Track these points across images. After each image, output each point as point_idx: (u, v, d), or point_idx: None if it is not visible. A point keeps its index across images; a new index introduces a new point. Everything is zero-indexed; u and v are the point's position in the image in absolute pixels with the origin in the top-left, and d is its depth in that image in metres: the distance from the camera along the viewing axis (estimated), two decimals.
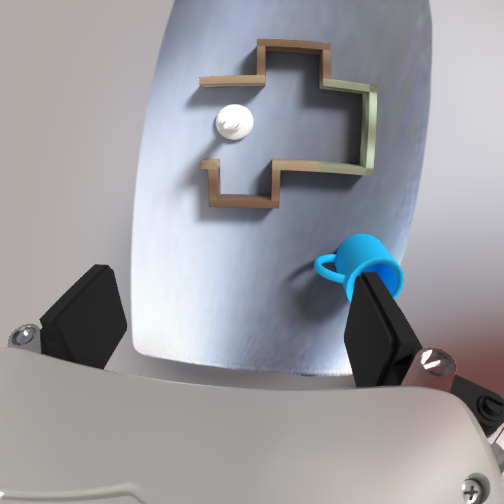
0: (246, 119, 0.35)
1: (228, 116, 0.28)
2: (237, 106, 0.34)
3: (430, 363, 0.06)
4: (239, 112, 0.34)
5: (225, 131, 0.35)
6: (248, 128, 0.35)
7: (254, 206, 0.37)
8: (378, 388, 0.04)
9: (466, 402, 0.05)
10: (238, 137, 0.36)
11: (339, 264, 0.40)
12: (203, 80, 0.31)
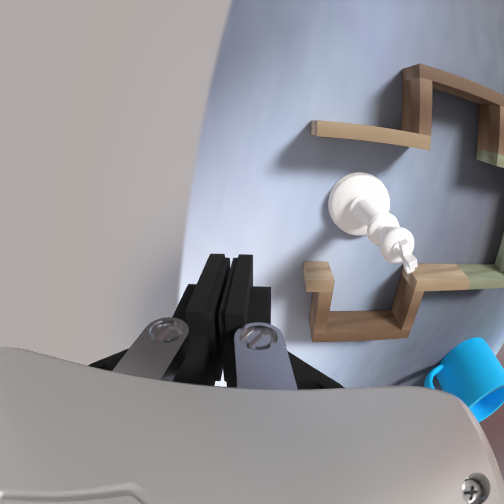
0: (383, 204, 0.20)
1: (406, 240, 0.14)
2: (371, 179, 0.19)
3: (252, 340, 0.07)
4: (374, 192, 0.20)
5: (347, 223, 0.21)
6: None
7: (377, 338, 0.23)
8: (378, 388, 0.04)
9: None
10: (366, 233, 0.21)
11: (448, 380, 0.26)
12: (326, 129, 0.16)
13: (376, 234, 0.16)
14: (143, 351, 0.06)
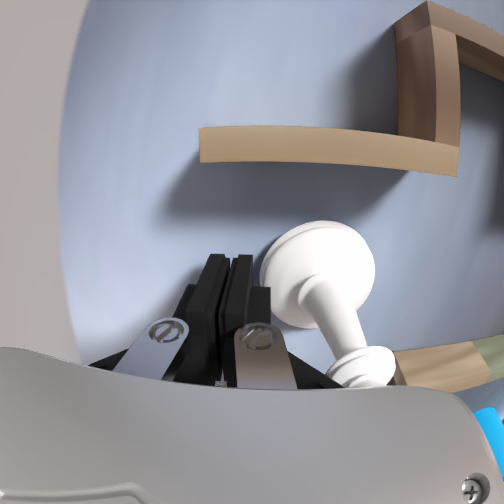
0: (363, 279, 0.11)
1: None
2: (340, 237, 0.11)
3: (253, 340, 0.07)
4: (346, 260, 0.11)
5: (295, 315, 0.12)
6: (362, 301, 0.12)
7: None
8: (378, 388, 0.04)
9: None
10: None
11: None
12: (220, 144, 0.08)
13: None
14: (143, 351, 0.06)
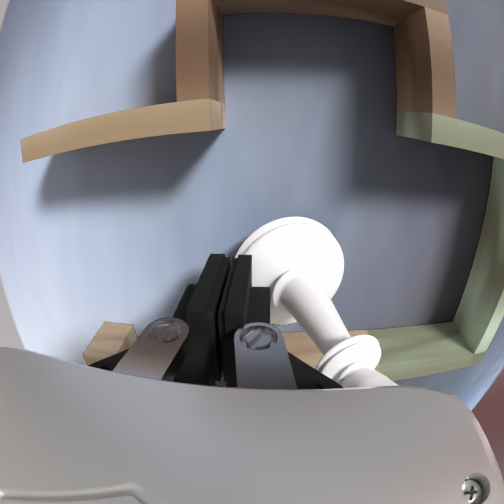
0: (333, 271, 0.12)
1: None
2: (309, 232, 0.11)
3: (252, 340, 0.07)
4: (317, 254, 0.11)
5: (270, 312, 0.12)
6: (333, 292, 0.13)
7: None
8: (378, 388, 0.04)
9: None
10: None
11: None
12: (29, 148, 0.08)
13: (335, 381, 0.07)
14: (143, 351, 0.06)
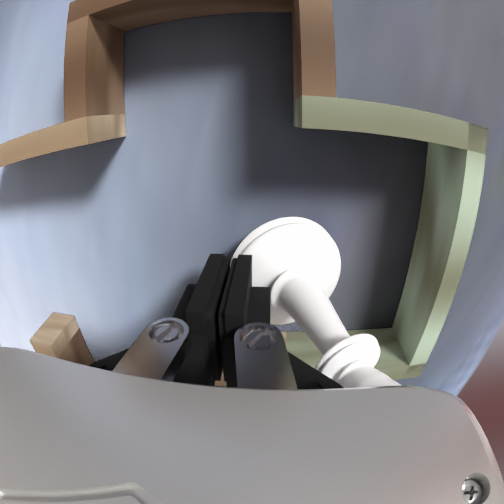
0: (330, 271, 0.12)
1: None
2: (307, 232, 0.11)
3: (252, 340, 0.07)
4: (314, 254, 0.11)
5: None
6: (330, 292, 0.13)
7: None
8: (378, 388, 0.04)
9: None
10: None
11: None
12: None
13: (335, 380, 0.07)
14: (143, 351, 0.06)
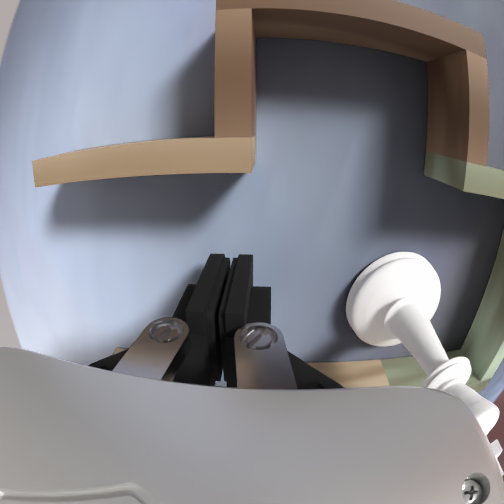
0: (431, 304, 0.12)
1: (491, 424, 0.05)
2: (421, 267, 0.11)
3: (252, 340, 0.07)
4: (423, 287, 0.11)
5: (374, 334, 0.12)
6: None
7: None
8: (378, 388, 0.04)
9: None
10: (397, 343, 0.13)
11: None
12: (43, 172, 0.08)
13: None
14: (143, 351, 0.06)
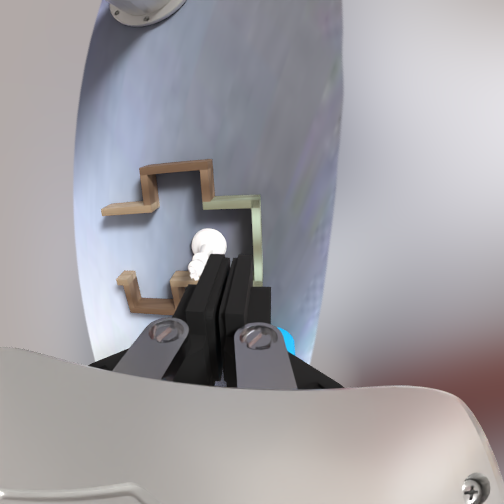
0: (219, 246, 0.40)
1: (198, 266, 0.33)
2: (211, 233, 0.39)
3: (252, 340, 0.07)
4: (213, 239, 0.39)
5: None
6: None
7: (163, 313, 0.43)
8: (378, 388, 0.04)
9: None
10: None
11: None
12: (104, 212, 0.37)
13: None
14: (143, 351, 0.06)
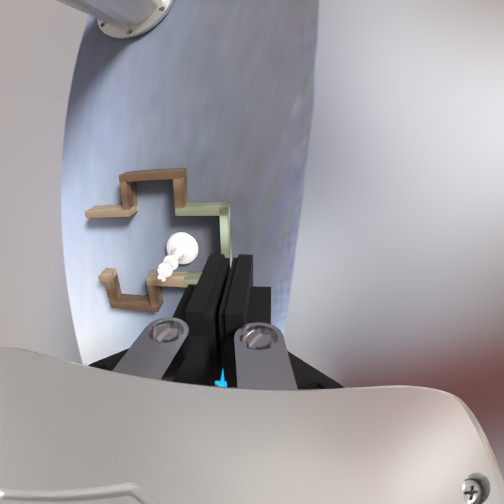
0: (191, 250, 0.42)
1: (166, 268, 0.35)
2: (185, 237, 0.42)
3: (253, 340, 0.07)
4: (186, 243, 0.42)
5: None
6: (192, 258, 0.43)
7: (140, 309, 0.45)
8: (378, 388, 0.04)
9: None
10: (183, 263, 0.43)
11: None
12: (88, 214, 0.39)
13: None
14: (143, 351, 0.06)
